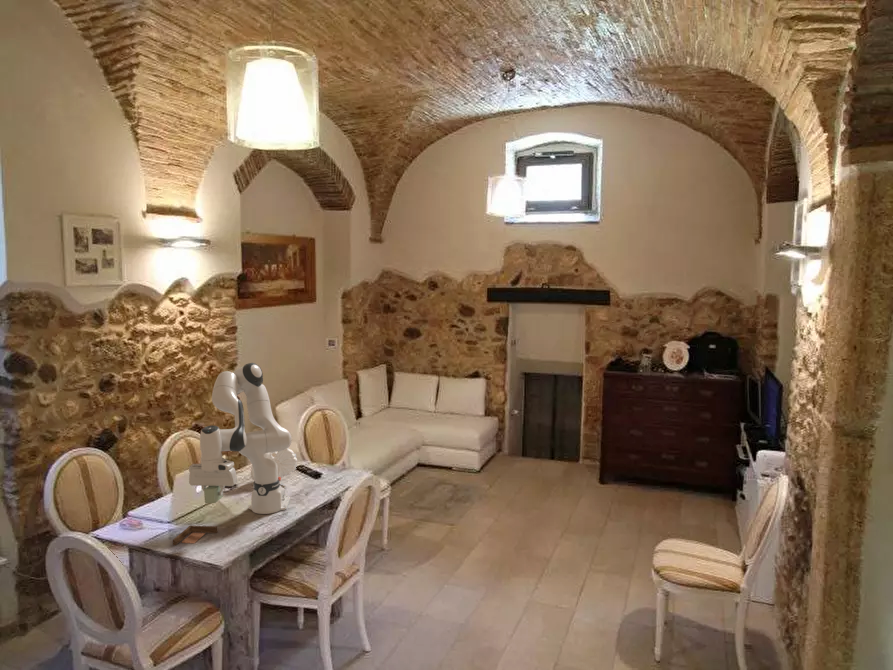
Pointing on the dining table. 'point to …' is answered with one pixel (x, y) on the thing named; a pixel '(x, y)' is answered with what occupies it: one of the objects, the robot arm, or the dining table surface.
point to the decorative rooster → (281, 462)
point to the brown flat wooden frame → (194, 534)
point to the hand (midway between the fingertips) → (213, 495)
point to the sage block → (212, 494)
